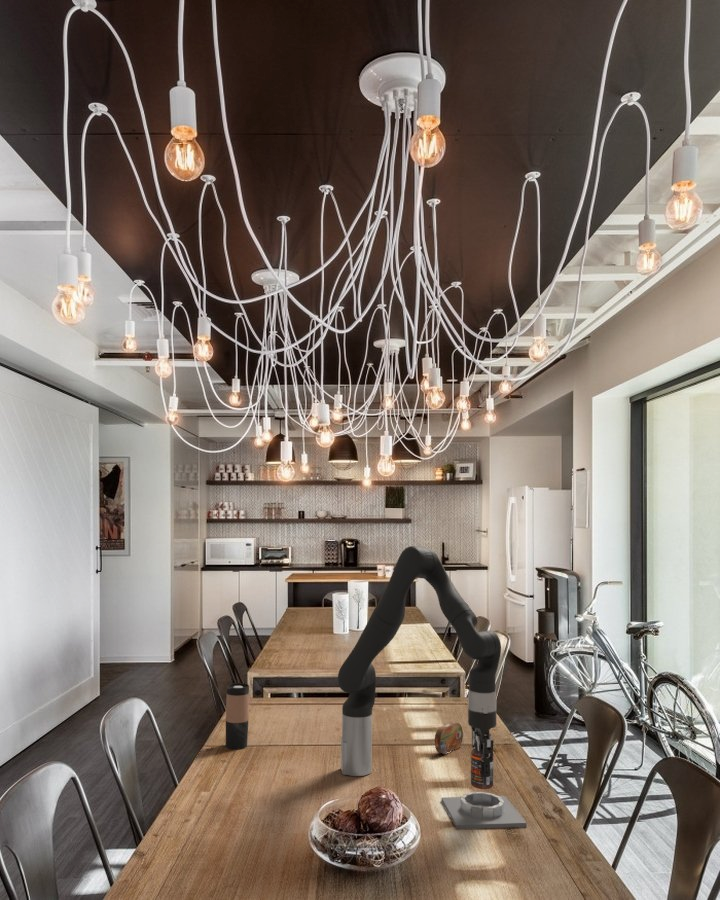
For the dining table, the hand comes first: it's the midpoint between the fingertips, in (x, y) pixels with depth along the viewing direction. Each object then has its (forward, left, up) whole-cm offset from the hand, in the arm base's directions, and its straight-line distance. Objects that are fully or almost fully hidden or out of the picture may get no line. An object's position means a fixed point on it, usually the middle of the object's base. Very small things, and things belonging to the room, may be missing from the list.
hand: (482, 771), depth 194 cm
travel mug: (-68, +61, -11) cm, 92 cm away
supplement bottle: (0, 0, -4) cm, 4 cm away
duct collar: (0, 0, -11) cm, 11 cm away
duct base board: (0, 0, -11) cm, 11 cm away
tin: (+3, +52, -11) cm, 53 cm away
